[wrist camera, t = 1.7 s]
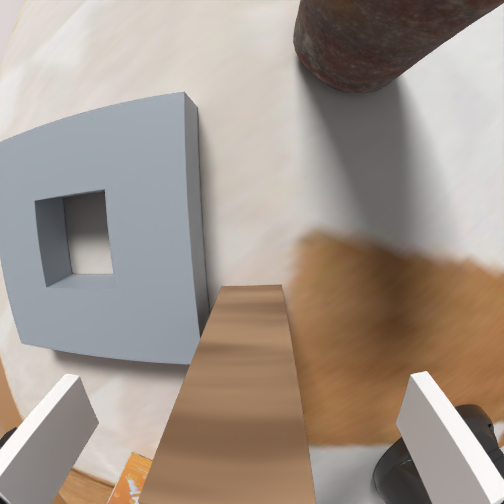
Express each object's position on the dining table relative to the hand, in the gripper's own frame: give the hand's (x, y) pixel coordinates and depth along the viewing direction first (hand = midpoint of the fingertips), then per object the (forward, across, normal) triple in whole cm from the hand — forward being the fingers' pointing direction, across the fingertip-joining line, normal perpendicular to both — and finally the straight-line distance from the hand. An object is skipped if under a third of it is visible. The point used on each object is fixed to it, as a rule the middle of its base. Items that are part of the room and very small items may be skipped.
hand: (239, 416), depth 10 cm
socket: (+11, +11, -6) cm, 16 cm away
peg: (+11, 0, 0) cm, 11 cm away
